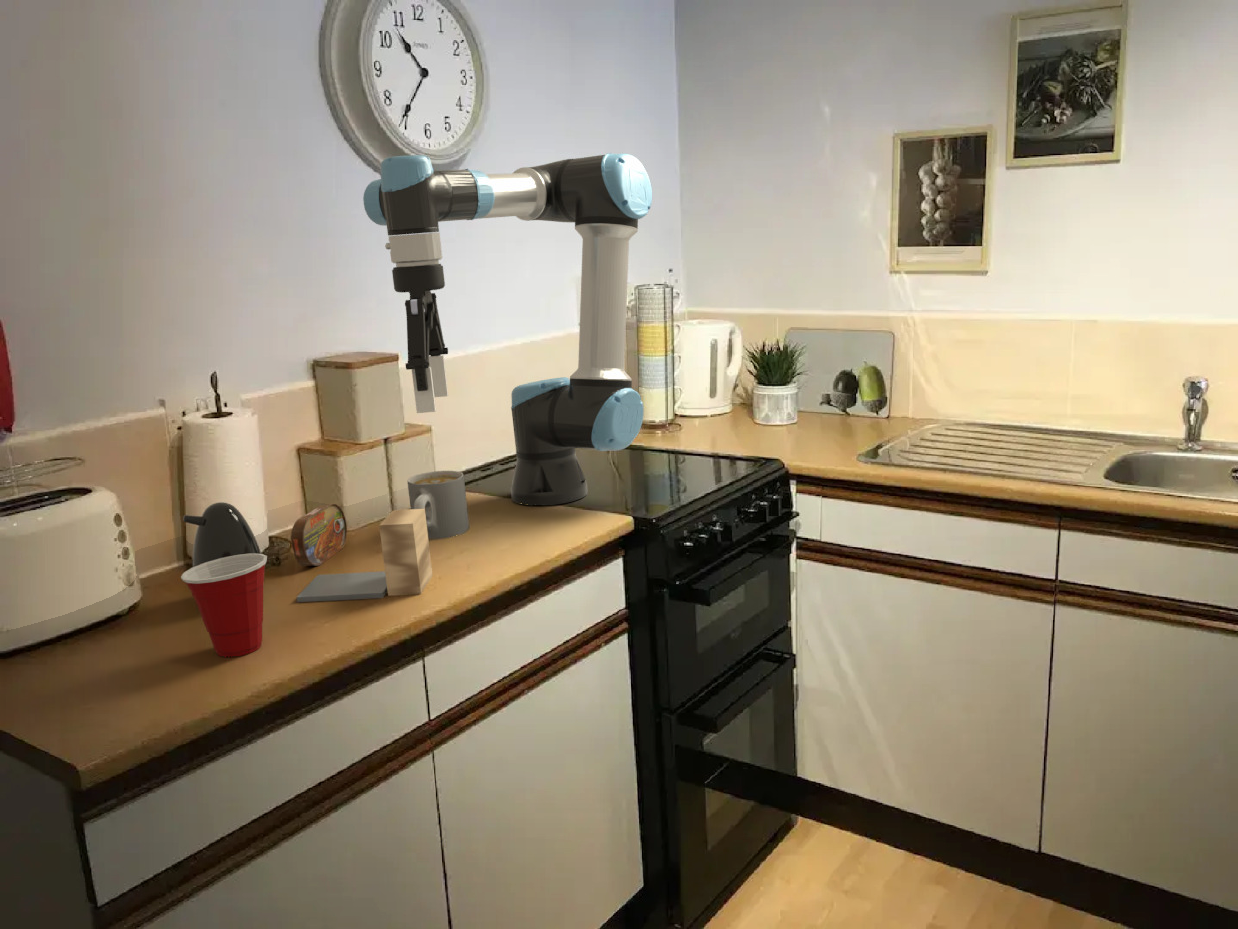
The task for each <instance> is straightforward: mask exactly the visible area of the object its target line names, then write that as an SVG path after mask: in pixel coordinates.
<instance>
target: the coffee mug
mask: <svg viewBox="0 0 1238 929" xmlns="http://www.w3.org/2000/svg"><path fill="white" fill-rule="evenodd" d="M464 476H465V475H464V473H463V472H461V471H459V470H458V471H457V470H456V471H455V470H437V471H436V470H434V471H427V472H423V473H419V474H416V475H413V476H411V477H409V478H408V479H407V489H408V495H409V507H410V509H425V515H426V524H427V532H428V540H441V539H449V538H453V536H454V537H457V536H456V535H458V536H460V535H462V534H465V533H466V531H467V530H468V529H469V530H470V524H469V512H468V511H469V510H468V504H467V495H466V484H465V477H464ZM469 530H468V531H469ZM468 531H467V532H468ZM459 534H460V535H459Z"/></svg>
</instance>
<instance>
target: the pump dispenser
mask: <svg viewBox="0 0 1238 929" xmlns="http://www.w3.org/2000/svg"><path fill="white" fill-rule="evenodd" d="M182 521H183V522H184V523H188V524H191V525H195V526H197V527H196V531H195V535H194V542H193V546H192V548H193V549H192V568H193V567H195V566H198V565H200V564H203V563H206V562H209V561H213V560H216V559H220V558H224V557H229V556H234V555H241V554H251V553H252V554H262V552H261V549H260V545H259V543H258V540H257V539H256V536H255V534H254V532H253V529H252V528H251V526H250V525H249V523H248V522H247V520H246V519H245V517H244V516H243V514H242V513H241V511H239V509H238V508H236V507H235V506H234V505H233V504H230V503H228V502H225V501H224V502H223V501H220V502H215V503H212V504H210V505H209V506H206V508H205V509H204V511H203V512H202V514H201V516H200V515H189V514H186V515H183V518H182ZM264 570H265V571H266V566H265V567H264Z"/></svg>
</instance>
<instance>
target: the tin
mask: <svg viewBox="0 0 1238 929" xmlns="http://www.w3.org/2000/svg"><path fill="white" fill-rule="evenodd" d="M347 528H348V526H347V520H346V516H345V514H344V510H343V509H342V508H341V507H340V505H338V504H336V503H330V504H324V505H323V504H322V505H319V506H317V507H315V508H314V509H312V510H311V511H309V512H308V513H306V514H304V515H303V516H301V517H300V518H298V519H296V521H295V522H294V524H293V525H292V529H291V532H290V541H291V545H292V551H293V554H294V558H295V561H296V562H298V564H300V565H301V566H303V567H313V566H315V567H319V566H321V565H323V564H324V563H325V562H327V561H328V560H329V559H331V558H332V557H334V556H335V555H336V554H338V553H339V552H340V551H342V550H343V548H344V547H345V545H346V542H347V535H348V529H347Z"/></svg>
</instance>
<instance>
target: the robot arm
mask: <svg viewBox="0 0 1238 929" xmlns="http://www.w3.org/2000/svg"><path fill="white" fill-rule="evenodd" d="M379 168H380V178H379V179H375V180H373V181H371V182H370V183H368V185H367V186H366V188H365V189H364V192H363V198H362V201H363V207H364V211H365V214H366V215H367V217H368V218H369V219H370V220H371V221H372V222H373V223H375V224H376V225H378V226H386V230H387V236H388V242H387V243H385V245H384V247H385V249H386V250H388V251H389V250H390V251H389V254H390V261H391V263H392V264H395V266H396V267H393V269H391V274H392V282H393V289H394V291H395V292H397V293H409V299H406V300H405V301H404V307H405V313H406V334H407V335H406V337H407V341H406V342H407V363H405V364H404V365H405V370H411V375H412V384H413V392H414V400H415V408H416V410H415V411H416V414H421V413H422V414H424V413H425V414H426V413H435V412H436V411H437V409H436V399H435V398H441V397H443V398H444V397H448V396H449V390H448V381H447V374H446V373H447V372H446V362H445V355H448V354H449V348H448V347H446V343H445V340H444V336H443V331H442V326H441V320H440V315H439V310H438V303H437V295H436V293H435V292H432V291H437V290H442V289H444V288H445V286H446V282H445V274H444V266H443V265H442V263H440V262H439V261H440V260H442V259H443V253H442V252H443V251H442V242H441V241H442V240H441V234H440V227H439V223H441V222H449V221H452V222H453V221H474V220H478V219H492V218H495V219H496V218H506V217H509V218H510V217H516V218H518V219H519V220H521V221H527V222H528V221H546V222H555V223H556V222H558V223H574V229H575V231H576V232H577V233H578V234H579V235H580V237H581V238H582V249H581V250H582V251H581V282H580V305H579V306H580V308H579V309H580V310H579V333H578V334H579V335H578V336H579V339H578V361H577V362H578V367H577V369H576V370H575V371H574V372H573V373H572V374H571V375H570V376H569V377H565V376H564V377H555V378H554V377H553V378H548V379H542V380H537V381H531V382H527V383H523V384H519V385H517V386H515V387H514V388H513V389H512V391H511V396H510V397H511V407H510V410H511V416H512V426H513V433H514V443H515V453H516V454H515V455H516V464H515V468H514V472H513V477H512V482H511V486H510V497H511V500H512V502H513V503H515V502H516V503H515V504H518V503H522V504H521V505H523V504H528V505H527V506H533V505H543V506H554V505H562V504H567V503H570V502H574V501H575V502H576V501H578V500H580V499H582V498H585V497H586V496H587V495H588V483H587V479H586V478H585V474H584V472H583V470H582V468H581V465H580V462H579V460H578V458H577V455H576V453H577V452H576V448H577V449H585V450H586V449H587V450H595V451H599V452H606V451H621V450H624V449H627V447H629V446H630V445H631V444H633V441H634V439H636V438H637V436H638V434H639V433H640V431H641V427H642V426H643V425H642V424H643V420H644V412H645V410H644V404H643V403H644V402H643V401H642V400H641V399H642V397H641V395H640V393H639V392H638V391H636V390H634V389H633V388H632V384H633V383H632V382H633V380H632V377H630V375H629V374H628V373H627V372H626V371H625V356H626V355H625V352H626V333H627V332H626V327H627V302H628V301H627V300H628V279H629V278H628V274H629V271H628V270H629V247H630V246H629V245H630V240H631V238H632V237H633V236H635V235H636V234H637V233H638V229H639V228H638V227H639V220H641V219H643V218H644V217H645V216H646V215H648V213H649V210H650V209H651V207H652V202H653V188H652V184H651V181H650V177H649V174H648V172H647V170H646V169H645V167H644V165H643V163H642V162H641V161H640V160H639V159H638V158H637V157H635V156H634V155H632V154H629V153H612V152H609V153H606V154H599V155H594V156H593V155H592V156H587V157H580V158H568V159H566V158H565V159H562V160H558V161H554V162H553V161H552V162H549V163H545V164H541V165H536V166H530V167H528V166H527V167H523V166H522V167H519V168H517V169H516V170H514V171H513V172H512V173H489V174H487V173H484V172H483V171H481V170H475V169H469V168H464V169H445V170H444V169H443V170H435V169H434V167H433V164H432V160H431V158H430V157H429V156H428V155H422V154H414V155H413V154H412V155H397V156H390V157H386V158H384V159H383V160H382V161H381V162H380V167H379Z"/></svg>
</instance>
